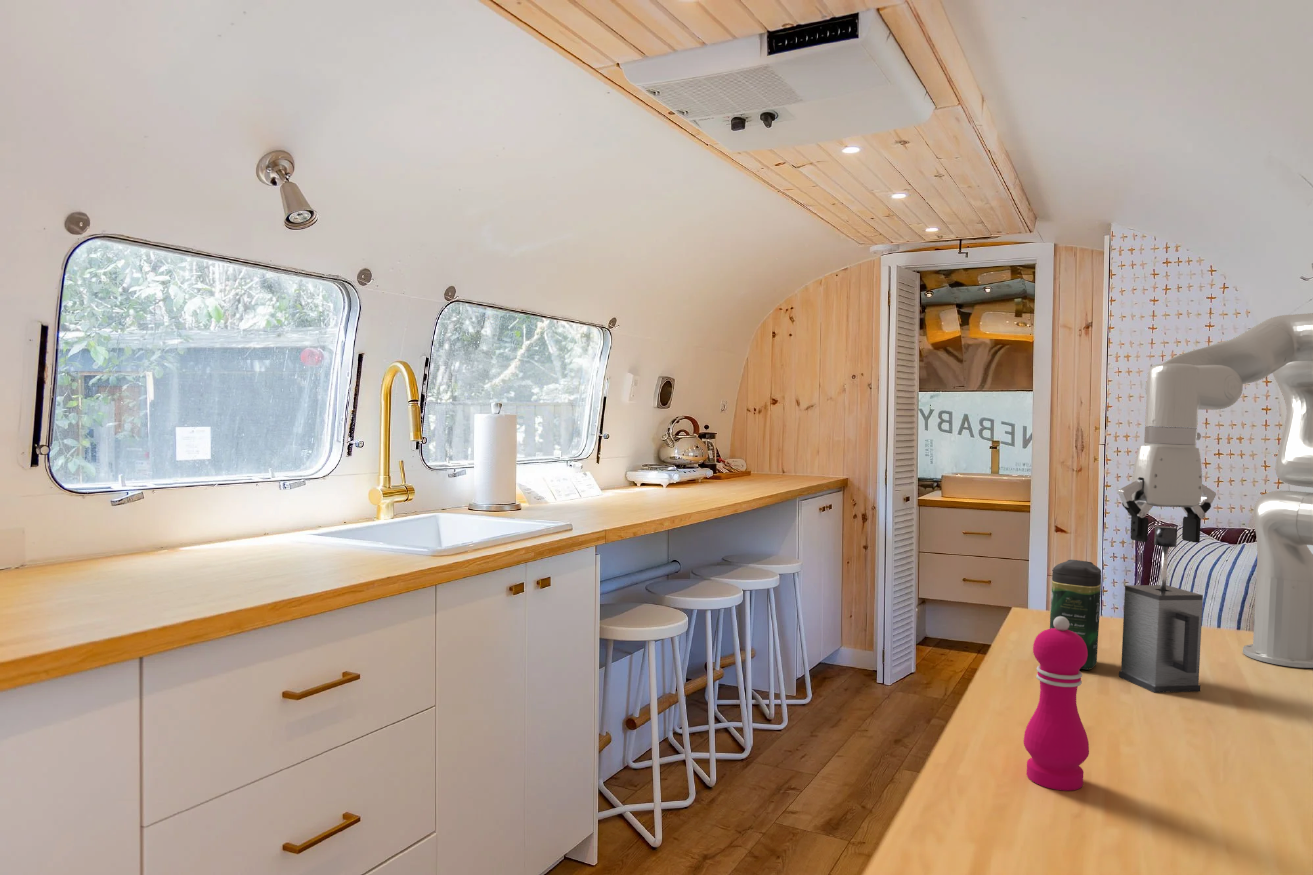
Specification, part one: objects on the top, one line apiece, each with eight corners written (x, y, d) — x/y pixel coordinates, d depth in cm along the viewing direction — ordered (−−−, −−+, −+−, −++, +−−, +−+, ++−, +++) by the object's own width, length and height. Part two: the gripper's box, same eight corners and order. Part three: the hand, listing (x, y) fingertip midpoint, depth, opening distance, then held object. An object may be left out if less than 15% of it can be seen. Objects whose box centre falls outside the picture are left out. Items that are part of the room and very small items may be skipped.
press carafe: (1162, 675, 152) (1166, 584, 151) (1213, 696, 141) (1218, 599, 140) (1118, 676, 150) (1123, 585, 150) (1167, 698, 139) (1171, 599, 139)
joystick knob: (1164, 604, 150) (1168, 525, 149) (1189, 612, 144) (1193, 529, 144) (1135, 604, 149) (1139, 525, 148) (1159, 612, 143) (1163, 529, 143)
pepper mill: (1032, 762, 112) (1039, 606, 111) (1094, 779, 107) (1101, 616, 106) (1014, 780, 106) (1021, 616, 105) (1078, 798, 101) (1086, 627, 101)
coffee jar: (1094, 674, 151) (1098, 567, 151) (1044, 666, 156) (1049, 562, 155) (1100, 661, 160) (1104, 560, 159) (1052, 654, 164) (1057, 555, 163)
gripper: (1198, 439, 151) (1193, 538, 151) (1108, 436, 148) (1103, 537, 148) (1234, 440, 143) (1228, 545, 144) (1139, 437, 140) (1134, 544, 141)
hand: (1164, 541), depth 146 cm, fingers open, 9 cm apart
